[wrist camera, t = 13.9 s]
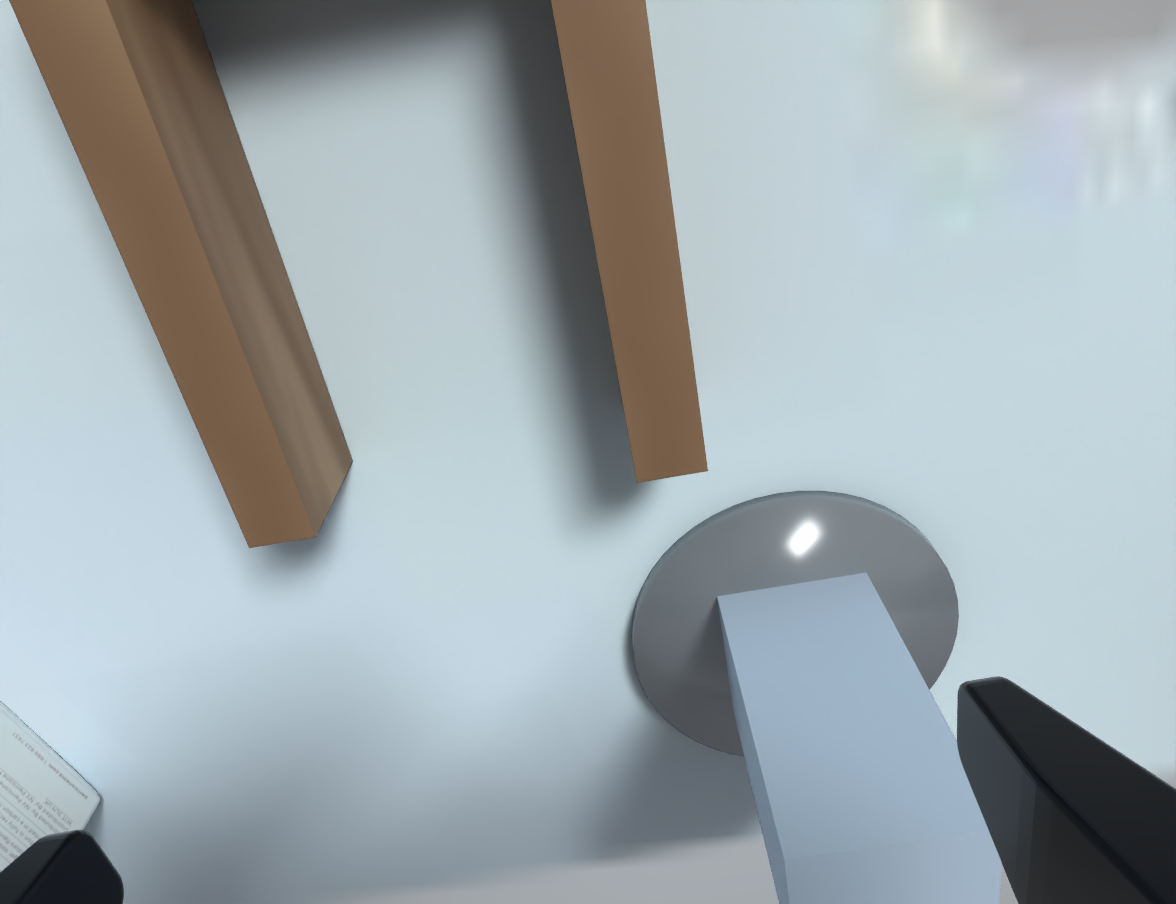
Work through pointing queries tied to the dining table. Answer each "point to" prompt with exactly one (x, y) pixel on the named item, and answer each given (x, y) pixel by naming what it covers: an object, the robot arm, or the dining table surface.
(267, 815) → the dining table surface
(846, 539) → the coaster
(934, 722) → the block
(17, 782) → the supplement box
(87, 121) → the frame
